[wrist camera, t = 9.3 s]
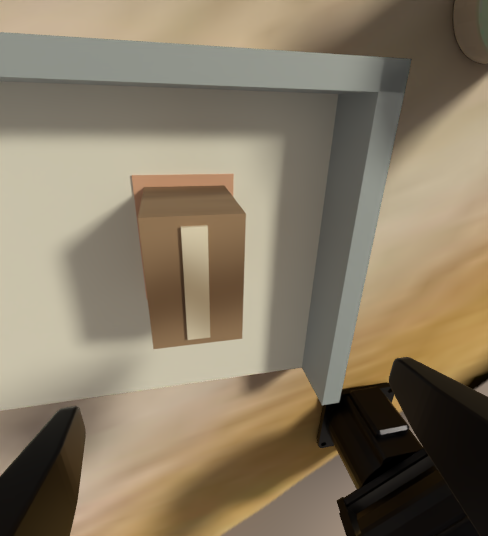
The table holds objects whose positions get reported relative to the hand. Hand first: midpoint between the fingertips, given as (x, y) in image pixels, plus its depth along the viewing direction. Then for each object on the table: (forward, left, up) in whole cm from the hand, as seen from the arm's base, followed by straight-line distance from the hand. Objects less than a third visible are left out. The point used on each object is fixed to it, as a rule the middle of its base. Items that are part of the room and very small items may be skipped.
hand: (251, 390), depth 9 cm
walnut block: (0, +1, -11) cm, 11 cm away
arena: (0, +4, -12) cm, 12 cm away
